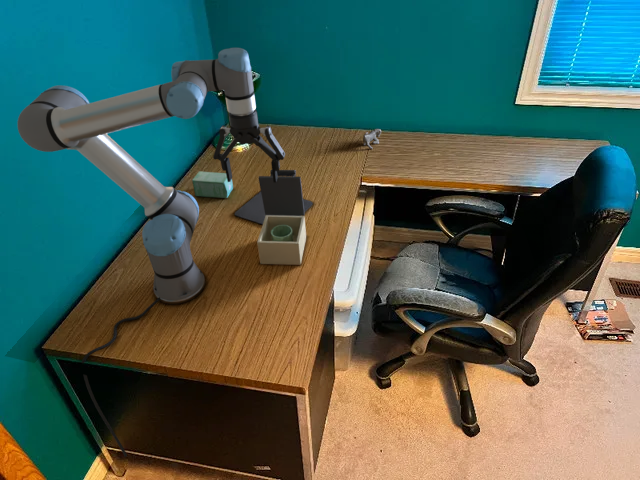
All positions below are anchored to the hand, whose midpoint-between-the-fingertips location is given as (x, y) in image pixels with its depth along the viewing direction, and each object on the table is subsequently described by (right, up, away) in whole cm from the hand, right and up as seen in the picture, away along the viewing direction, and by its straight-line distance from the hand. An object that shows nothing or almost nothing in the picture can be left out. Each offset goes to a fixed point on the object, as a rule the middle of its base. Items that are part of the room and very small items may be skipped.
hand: (252, 179), depth 141 cm
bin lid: (+8, -4, +13) cm, 16 cm away
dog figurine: (+43, +25, +76) cm, 91 cm away
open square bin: (+8, -21, +19) cm, 29 cm away
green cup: (+8, -21, +18) cm, 29 cm away
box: (-22, +1, +50) cm, 54 cm away
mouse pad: (+3, -6, +39) cm, 39 cm away
